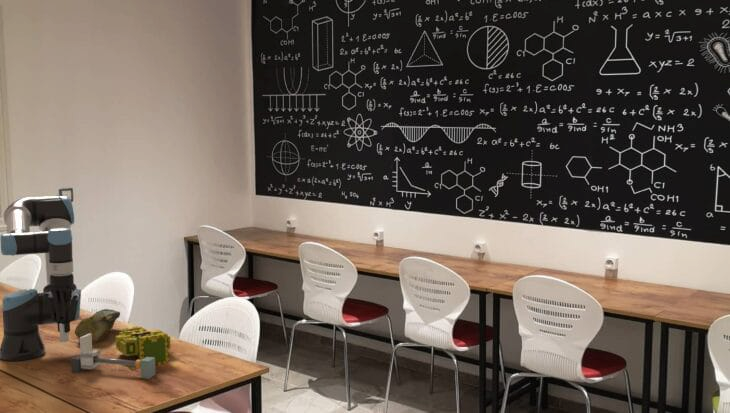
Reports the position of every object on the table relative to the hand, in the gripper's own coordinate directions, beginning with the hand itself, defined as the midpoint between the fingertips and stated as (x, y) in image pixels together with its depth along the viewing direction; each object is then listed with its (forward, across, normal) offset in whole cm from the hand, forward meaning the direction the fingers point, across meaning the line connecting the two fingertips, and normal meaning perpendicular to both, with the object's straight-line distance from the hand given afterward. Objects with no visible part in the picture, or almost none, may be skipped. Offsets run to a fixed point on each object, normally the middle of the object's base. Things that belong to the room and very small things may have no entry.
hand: (64, 341), depth 255 cm
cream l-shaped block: (+8, +10, 0) cm, 13 cm away
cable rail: (+10, +19, 0) cm, 21 cm away
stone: (+10, -12, +37) cm, 40 cm away
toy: (+10, +17, +21) cm, 29 cm away
